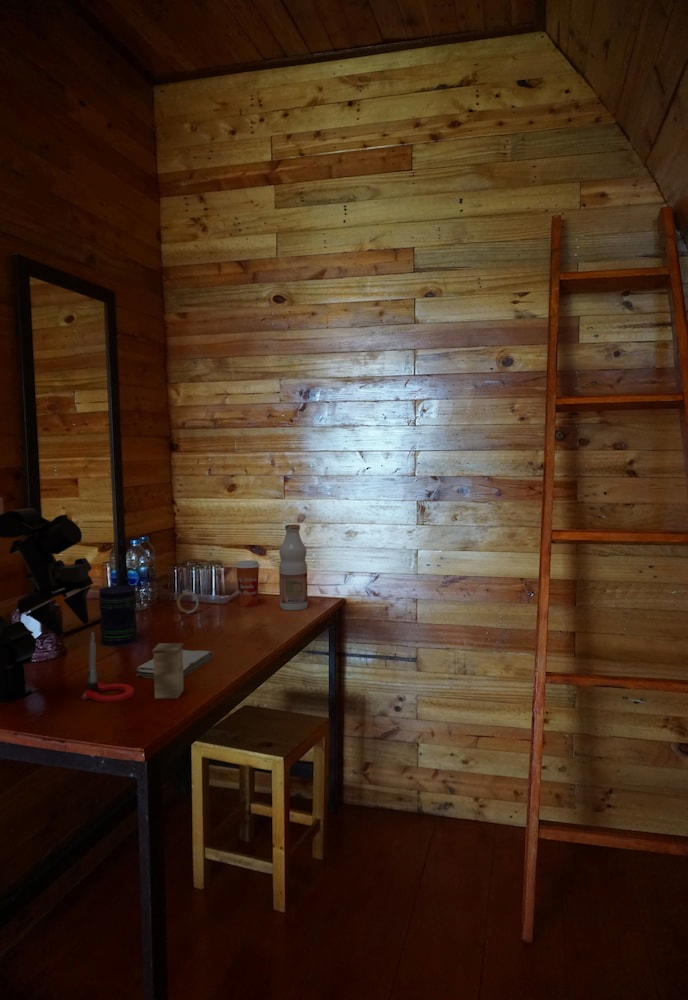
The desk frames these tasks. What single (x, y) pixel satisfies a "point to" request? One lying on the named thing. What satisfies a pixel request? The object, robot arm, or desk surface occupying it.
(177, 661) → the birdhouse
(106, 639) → the storage jar
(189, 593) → the ring
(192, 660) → the washcloth
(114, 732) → the desk surface
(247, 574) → the coffee cup
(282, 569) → the fruit juice
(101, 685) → the tow hook
